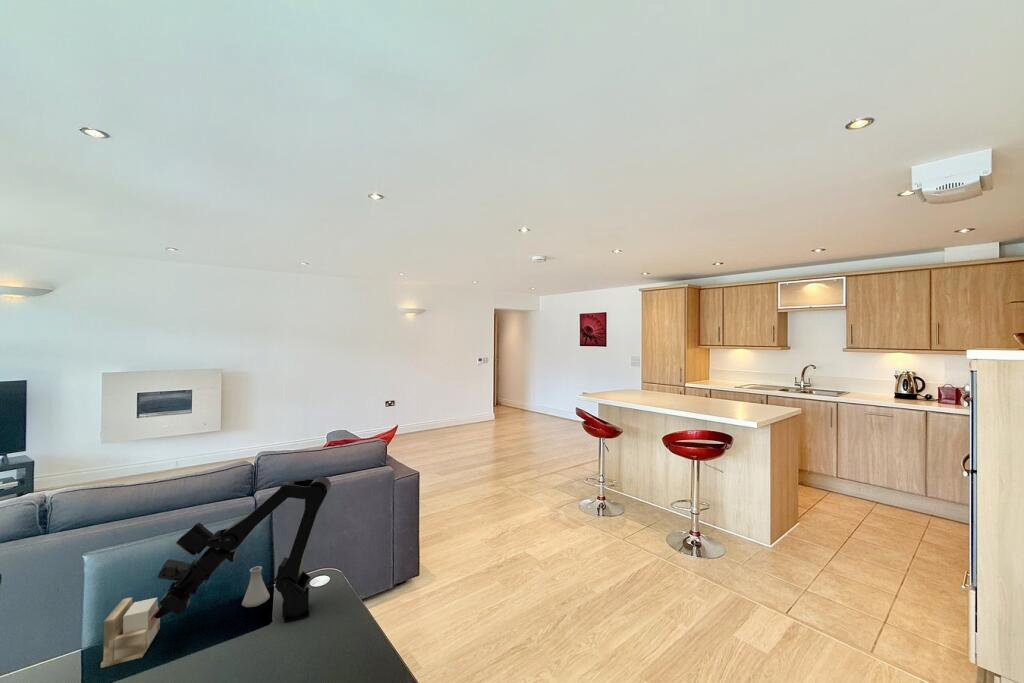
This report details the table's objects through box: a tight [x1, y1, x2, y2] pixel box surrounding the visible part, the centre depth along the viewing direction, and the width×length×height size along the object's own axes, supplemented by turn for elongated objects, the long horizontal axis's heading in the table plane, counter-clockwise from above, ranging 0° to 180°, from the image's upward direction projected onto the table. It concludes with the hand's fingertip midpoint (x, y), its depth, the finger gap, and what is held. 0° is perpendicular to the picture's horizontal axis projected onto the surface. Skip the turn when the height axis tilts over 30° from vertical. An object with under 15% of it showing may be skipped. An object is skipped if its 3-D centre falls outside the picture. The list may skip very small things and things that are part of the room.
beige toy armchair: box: [100, 596, 161, 669], centre depth 109 cm, size 8×11×11 cm
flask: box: [241, 565, 271, 608], centre depth 129 cm, size 7×7×10 cm
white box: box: [123, 597, 160, 648], centre depth 110 cm, size 5×7×9 cm
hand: (156, 617), depth 111 cm, fingers closed, pressing on white box
